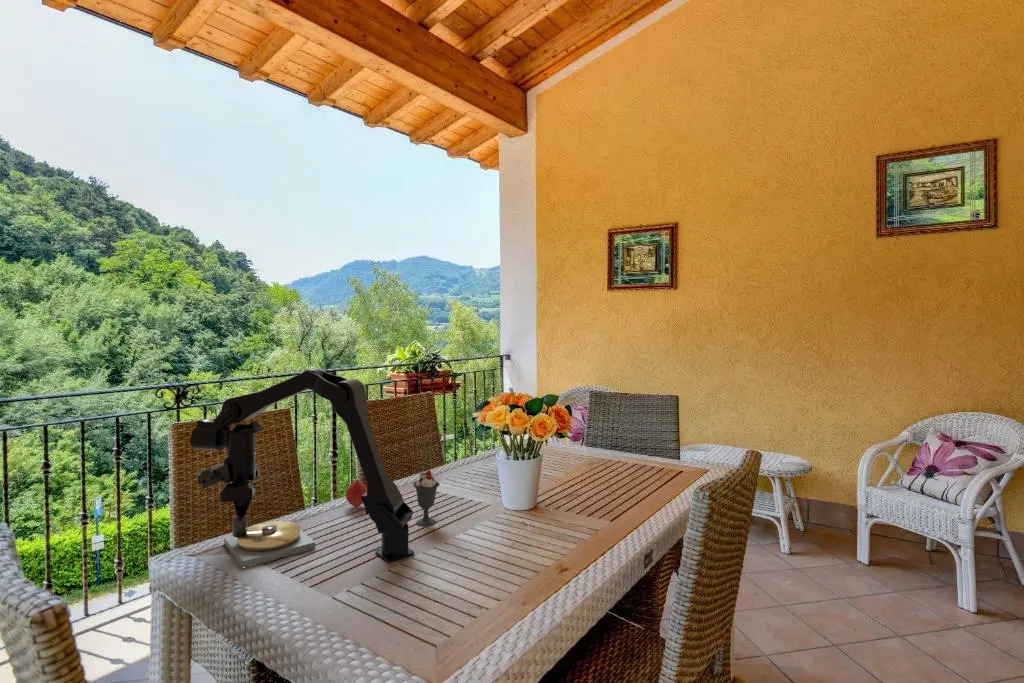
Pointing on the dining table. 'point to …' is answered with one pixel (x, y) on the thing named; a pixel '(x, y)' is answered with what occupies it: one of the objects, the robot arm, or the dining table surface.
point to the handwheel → (264, 534)
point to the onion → (355, 493)
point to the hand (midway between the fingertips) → (241, 519)
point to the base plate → (257, 557)
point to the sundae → (426, 496)
